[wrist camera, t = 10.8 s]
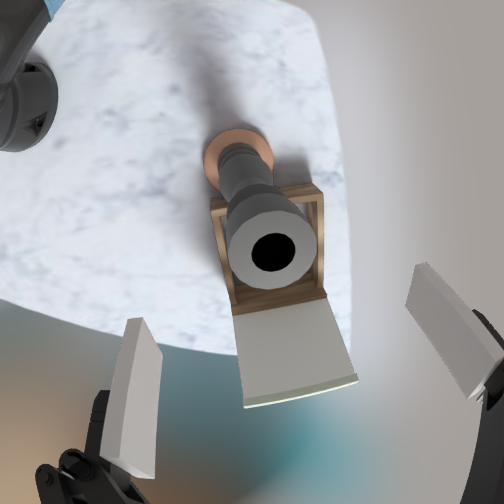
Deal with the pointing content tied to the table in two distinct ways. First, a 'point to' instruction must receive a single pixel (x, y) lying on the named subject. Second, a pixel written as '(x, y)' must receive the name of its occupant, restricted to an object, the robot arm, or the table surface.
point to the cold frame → (294, 293)
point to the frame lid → (291, 353)
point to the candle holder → (262, 222)
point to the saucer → (229, 138)
